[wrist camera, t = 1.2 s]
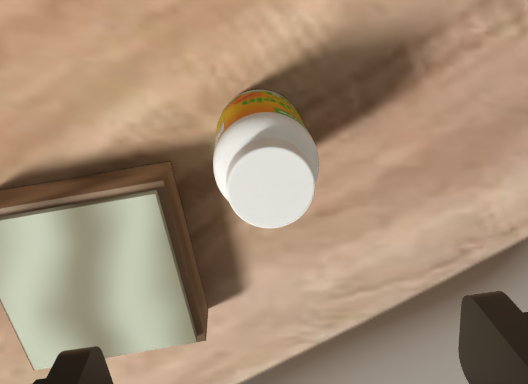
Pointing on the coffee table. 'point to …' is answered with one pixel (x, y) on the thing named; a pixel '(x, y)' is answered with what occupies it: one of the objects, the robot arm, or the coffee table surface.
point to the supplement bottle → (265, 159)
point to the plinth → (100, 265)
